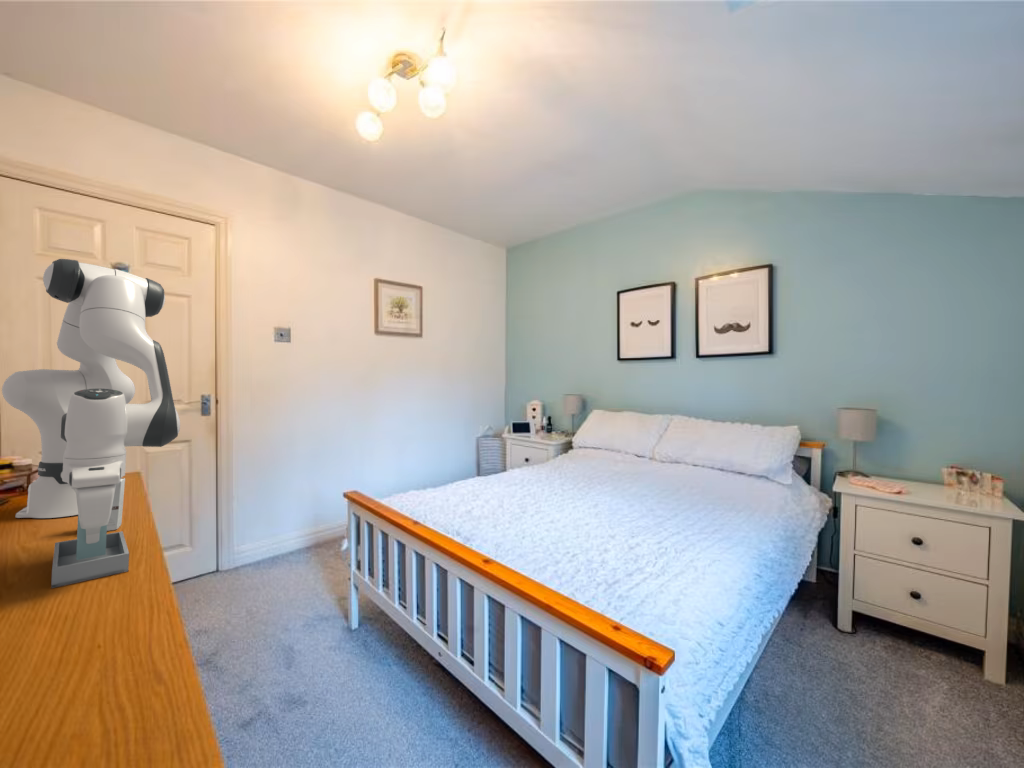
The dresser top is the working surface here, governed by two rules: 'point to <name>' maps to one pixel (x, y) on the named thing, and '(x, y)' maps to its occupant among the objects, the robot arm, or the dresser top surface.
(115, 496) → the skincare box
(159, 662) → the dresser top surface
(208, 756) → the dresser top surface
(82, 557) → the teal block
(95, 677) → the dresser top surface
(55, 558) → the grey tray
